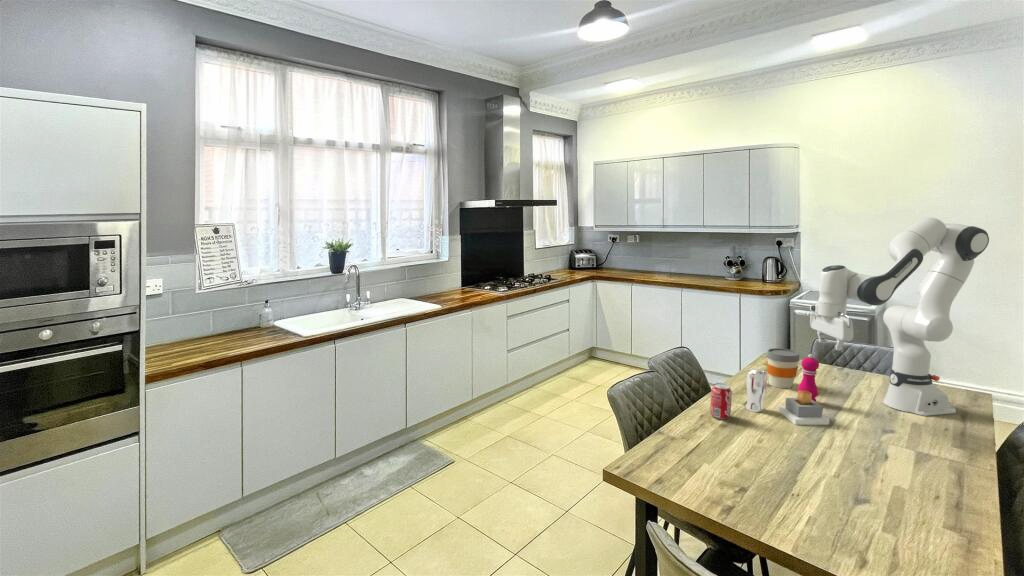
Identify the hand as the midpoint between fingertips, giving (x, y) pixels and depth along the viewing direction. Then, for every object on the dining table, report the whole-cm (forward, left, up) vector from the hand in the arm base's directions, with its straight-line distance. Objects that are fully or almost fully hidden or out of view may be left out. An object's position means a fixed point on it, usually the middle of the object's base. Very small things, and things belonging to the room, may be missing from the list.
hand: (830, 346), depth 181 cm
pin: (+10, +4, -26) cm, 28 cm away
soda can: (+40, +3, -26) cm, 48 cm away
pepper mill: (0, -11, -26) cm, 28 cm away
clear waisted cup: (+24, -4, -26) cm, 36 cm away
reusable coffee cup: (0, -31, -26) cm, 40 cm away
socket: (+10, +4, -26) cm, 28 cm away
